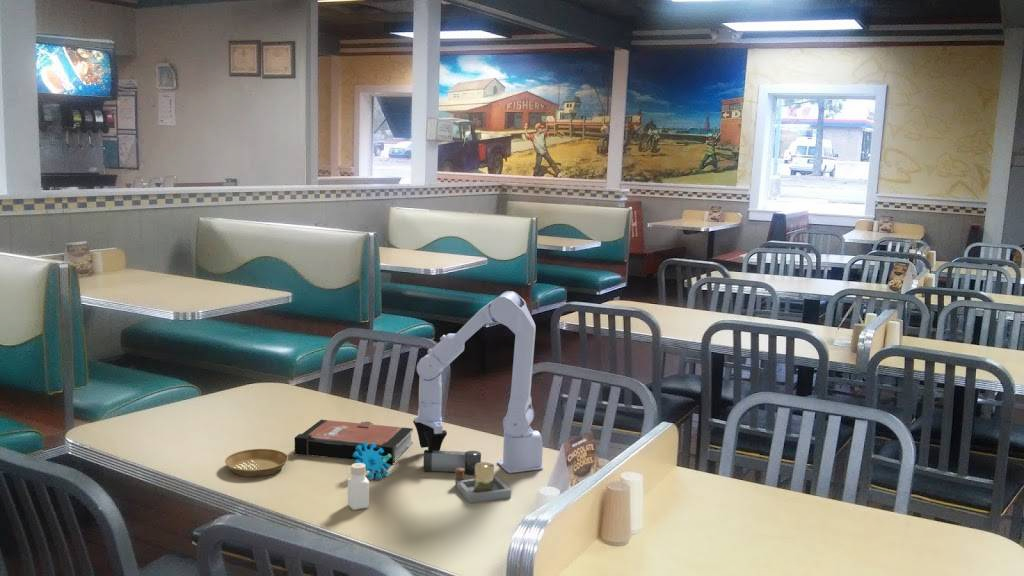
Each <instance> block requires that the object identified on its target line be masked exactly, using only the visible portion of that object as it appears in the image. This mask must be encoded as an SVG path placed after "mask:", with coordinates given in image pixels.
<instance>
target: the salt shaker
mask: <svg viewBox="0 0 1024 576" xmlns="http://www.w3.org/2000/svg"><path fill="white" fill-rule="evenodd" d="M366 474H367V473H366V465H365V464H363V463H355V464H354V463H352V464H351V465H350V475H351V477H349V478H348V479H347V505H348V507H350V508H351V510H353V511H356V510H361V509H368V508H369V506H370V480H369V478H368V477H367V476H366Z"/></svg>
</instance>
